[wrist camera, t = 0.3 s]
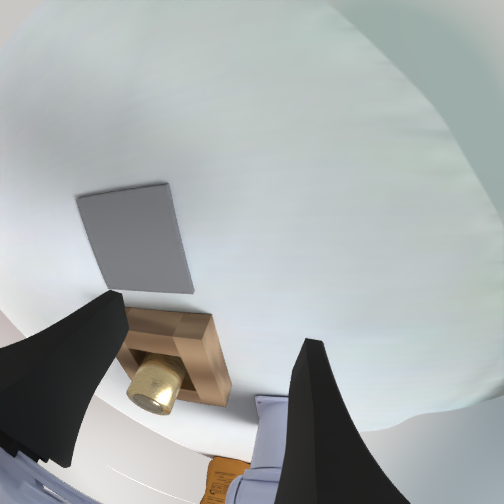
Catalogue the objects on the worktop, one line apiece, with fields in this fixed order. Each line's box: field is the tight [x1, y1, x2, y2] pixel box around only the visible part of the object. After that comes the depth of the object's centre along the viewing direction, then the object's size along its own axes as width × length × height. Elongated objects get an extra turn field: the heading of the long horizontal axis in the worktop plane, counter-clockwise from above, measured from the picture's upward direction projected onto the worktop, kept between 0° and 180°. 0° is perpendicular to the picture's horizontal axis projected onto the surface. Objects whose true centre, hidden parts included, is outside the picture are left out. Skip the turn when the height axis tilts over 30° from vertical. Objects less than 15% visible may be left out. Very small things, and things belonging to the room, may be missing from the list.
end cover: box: [126, 352, 187, 415], centre depth 24 cm, size 4×4×7 cm
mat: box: [76, 184, 194, 294], centre depth 21 cm, size 9×9×1 cm
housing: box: [116, 307, 232, 407], centre depth 26 cm, size 11×11×3 cm
